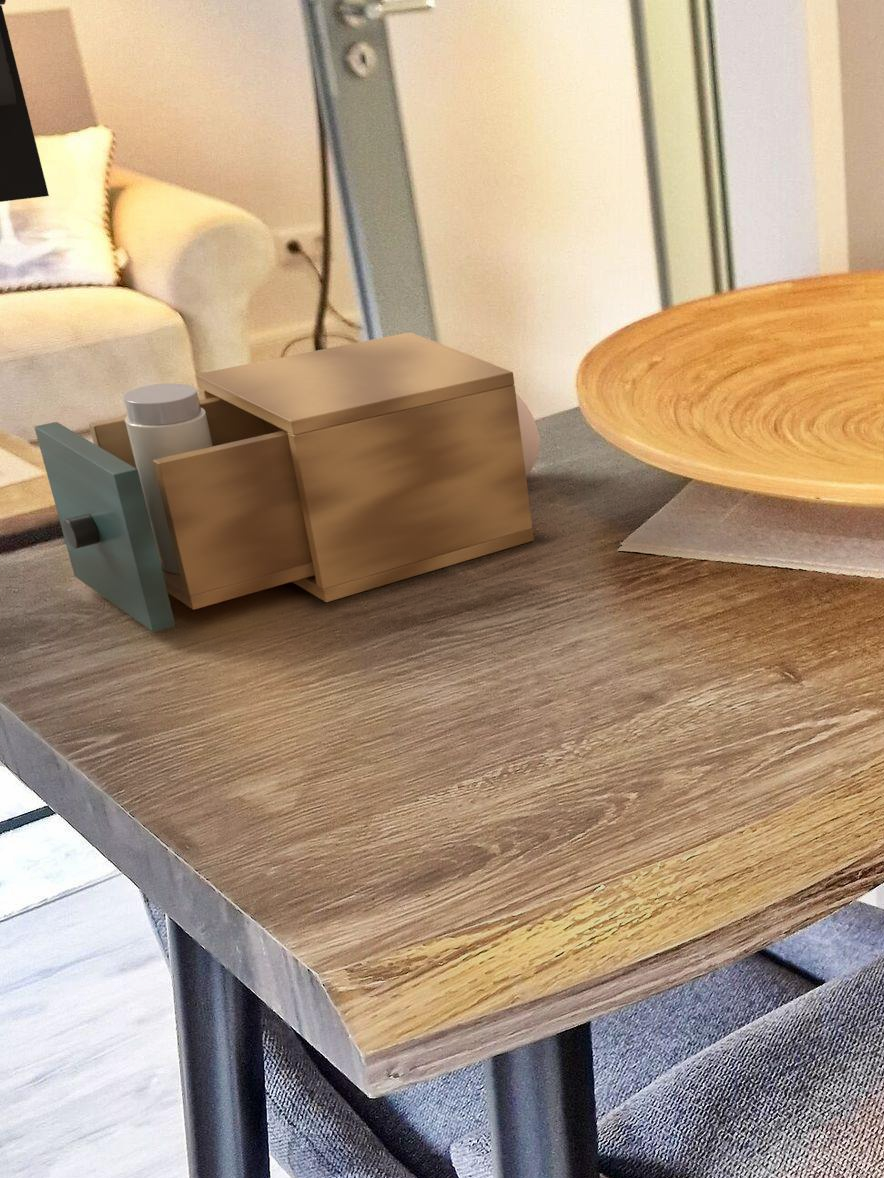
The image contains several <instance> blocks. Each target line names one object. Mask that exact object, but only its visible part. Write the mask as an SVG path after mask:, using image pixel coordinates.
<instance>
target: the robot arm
mask: <svg viewBox="0 0 884 1178" xmlns="http://www.w3.org/2000/svg"><path fill="white" fill-rule="evenodd" d="M6 2H7V0H0V203H3V202H9V201H11V202H12V201H19V200H27V199H34V198H35V199H37V198H44V197H49V196H50V195H49V190H48V185H47V183H46V178H45V175H44V171H43V165H42V162H41V158H40V154H39V150H38V146H37V142H36V137H35V134H34V130H33V127H32V122H31V119H30V114H29V111H28V110H29V109H28V106H27V102H26V98H25V94H24V90H23V85H22V81H21V78H20V74H19V70H18V66H17V61H16V58H15V53H14V50H13V49H14V48H13V45H12V42H11V38H10V34H9V33H10V32H9V30H8V25H7V21H6V18H5V13H4V9H3V5H5V4H6Z"/></svg>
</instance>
